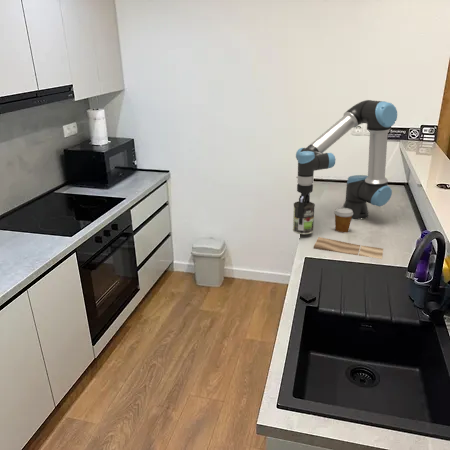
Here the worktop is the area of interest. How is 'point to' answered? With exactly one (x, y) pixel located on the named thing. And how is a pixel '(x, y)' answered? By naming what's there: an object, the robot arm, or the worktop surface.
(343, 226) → the disposable coffee cup
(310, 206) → the coffee can
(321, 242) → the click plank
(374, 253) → the laid plank
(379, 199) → the robot arm
